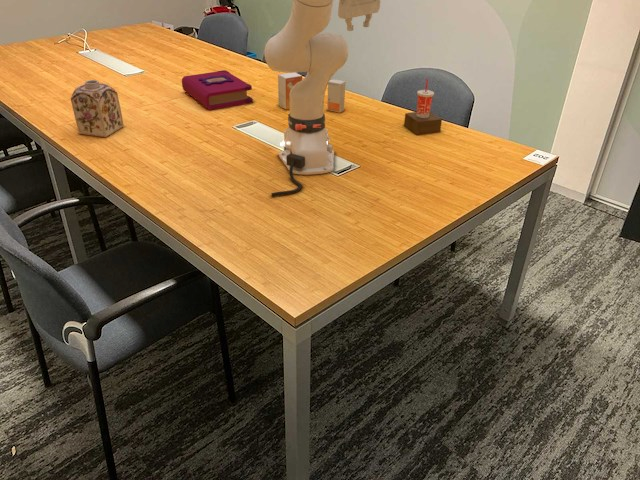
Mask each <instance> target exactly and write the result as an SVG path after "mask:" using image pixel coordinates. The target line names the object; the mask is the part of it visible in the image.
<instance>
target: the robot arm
mask: <svg viewBox="0 0 640 480" xmlns="http://www.w3.org/2000/svg"><path fill="white" fill-rule="evenodd" d="M333 4H334V0H292V5H291V6H292V7H291V11H290V16H289V19H287V22H286V24H285V25H284V26H283V27H282V29H280V31H279V32H277V33H276V34H275V35H273V36H272V37H270V38H269V39H268V40H267V42H266V44H265V46H264V47H265V48H264V50H263V51H264V53H263V54H264V60H265V63H266V65H267V66H268V68H269V69H270V70H272V72H277V73H283V74H285V73H295V72H296V73H306V75H305V76H304V78H302V81H300V82H298V83H297V84H295V85H294V86H293V87H292V89H291V90H290V93H289V107H290V109H289V113H288V115H287V116H288V117H287V123H288V124H287V125H288V127H287V128H286V129H284V131H283V141H282V142H280V147H281V146H283V150H282V151H279V152H278V157H279V158H280V160H281V162H282V163H283V165H284V166H285V167H286V168H287V170H288V171H289V177H290V180H291V181H292V183H293V184H295V185H296V186H297V187H296V188H294V189H291V190H283V191H275V192H271V193H270V194H271V197H276V196H277V197H278V196H284V195H291V194H295V193H296V194H297V193H298V192H299V191H301V190H302V189H303V184H302V183H300V182H298V181H297V180H296V179H295V177H294V175H301V176H303V175H304V176H305V175H308V176H309V175H322V174H327V173H330V172H333V171H334V166H335V151H334V149H333V144H331V143H330V144H329V142H331V136H329V129H328V128H327V127H326V116H325V113H324V111H325V110H324V109H325V97H326V90H327V88H328V83H329V81H330V80H332V79H333V78H332V77H333V76H334V75H335V74H336V73H337V72H338V71H339V70H340V69H341V68H343V66H344V65H345V64H346V62H347V60H348V57H349V46H348V43H347V41H346V40H345V37H343V36H342V34H341V35H340V34H335V33H330V32H323V31H325V30H326V28H327V27H329V24H330V22H331V18H332V12H333V6H334V5H333ZM380 8H381V0H339V1H338V9H337V16H338V18H339V19H343V20H344V22H345V24H346V30H347V31H348V32H352V31H354V24H353V23H352V21H353V18H358V17H363V16H364V17H365V19H364V20H363V24H362V26H363V27H364V28H369V27H370V22H371V20H372V18H373V14H377V13H378V12H379V11H380Z"/></svg>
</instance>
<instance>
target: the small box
mask: <svg viewBox="0 0 640 480" xmlns="http://www.w3.org/2000/svg"><path fill="white" fill-rule="evenodd" d="M302 80H303V75H302V74H299V72H295V73H281V74H277V94H278V95H277V97H278V98H277V99H278V100H277V101H278V106H279V107H280V108H282V109H283V110H290V107H289V93H290V90H291V89H292V87H293V86H294V85H295V84H297V83H298V82H300V81H302Z"/></svg>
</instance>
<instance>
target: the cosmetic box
mask: <svg viewBox="0 0 640 480" xmlns="http://www.w3.org/2000/svg"><path fill="white" fill-rule="evenodd" d="M346 82H347V81H346V80H340V79H334V78H331V79H330V81H329V83H328V85H327V101H326V102H327V104H326V105H327V106H326V111H330V112H334V113H339V114H341V113H342V112H344V110H345V101H346V84H347V83H346Z"/></svg>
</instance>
